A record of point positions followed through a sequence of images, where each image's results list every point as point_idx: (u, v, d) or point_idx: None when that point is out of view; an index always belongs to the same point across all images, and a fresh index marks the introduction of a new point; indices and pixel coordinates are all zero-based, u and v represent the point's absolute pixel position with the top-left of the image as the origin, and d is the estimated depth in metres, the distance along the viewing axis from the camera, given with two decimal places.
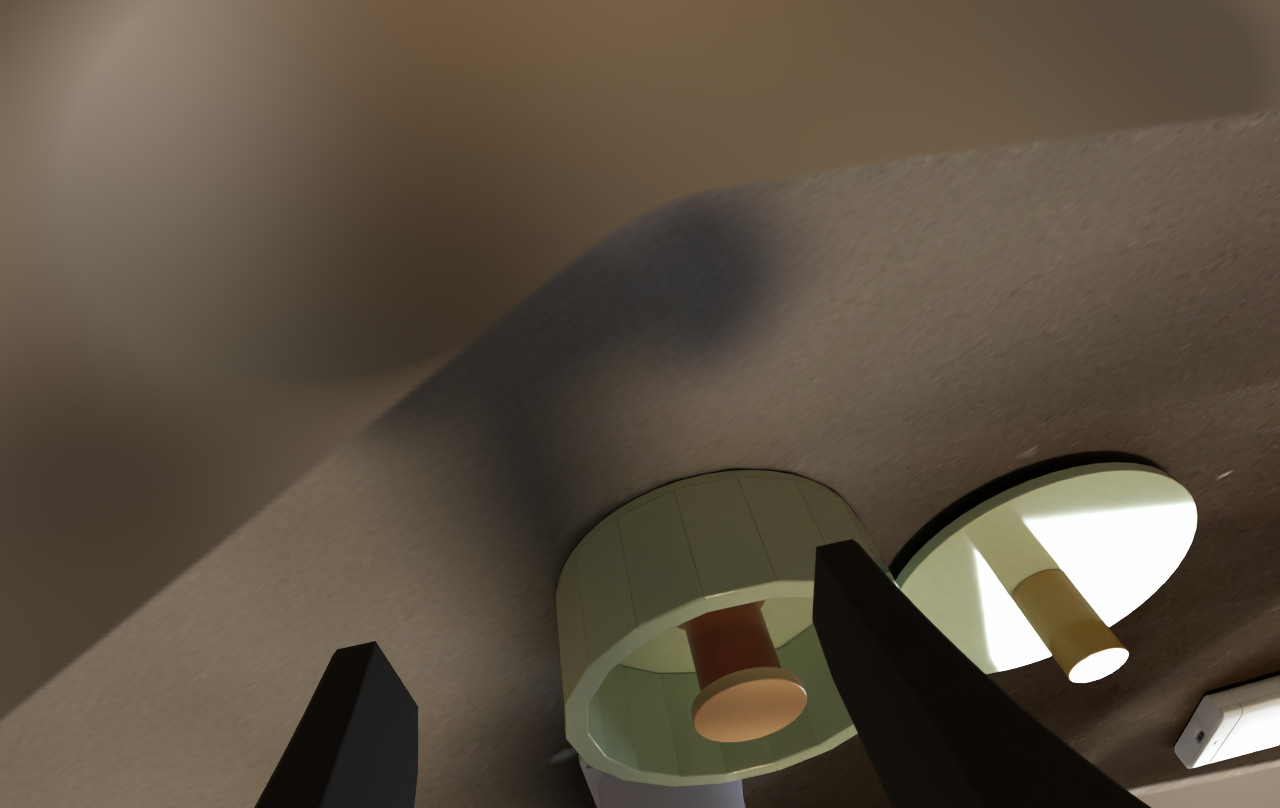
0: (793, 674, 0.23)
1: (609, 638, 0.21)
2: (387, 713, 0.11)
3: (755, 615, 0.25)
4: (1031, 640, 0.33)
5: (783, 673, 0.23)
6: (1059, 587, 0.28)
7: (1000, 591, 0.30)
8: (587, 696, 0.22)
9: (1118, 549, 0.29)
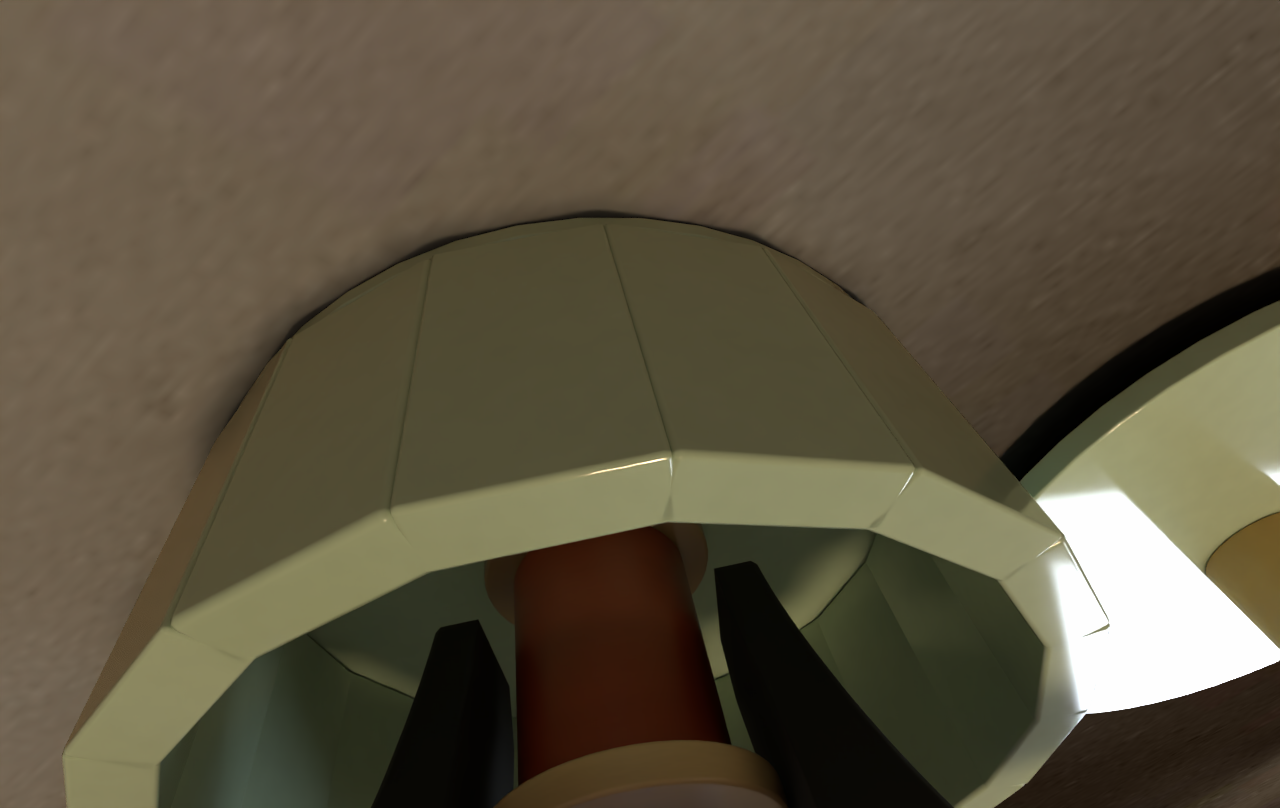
0: (752, 758, 0.08)
1: (121, 664, 0.06)
2: (491, 690, 0.11)
3: (670, 599, 0.11)
4: (1211, 651, 0.18)
5: (722, 759, 0.08)
6: None
7: (1187, 556, 0.15)
8: None
9: None
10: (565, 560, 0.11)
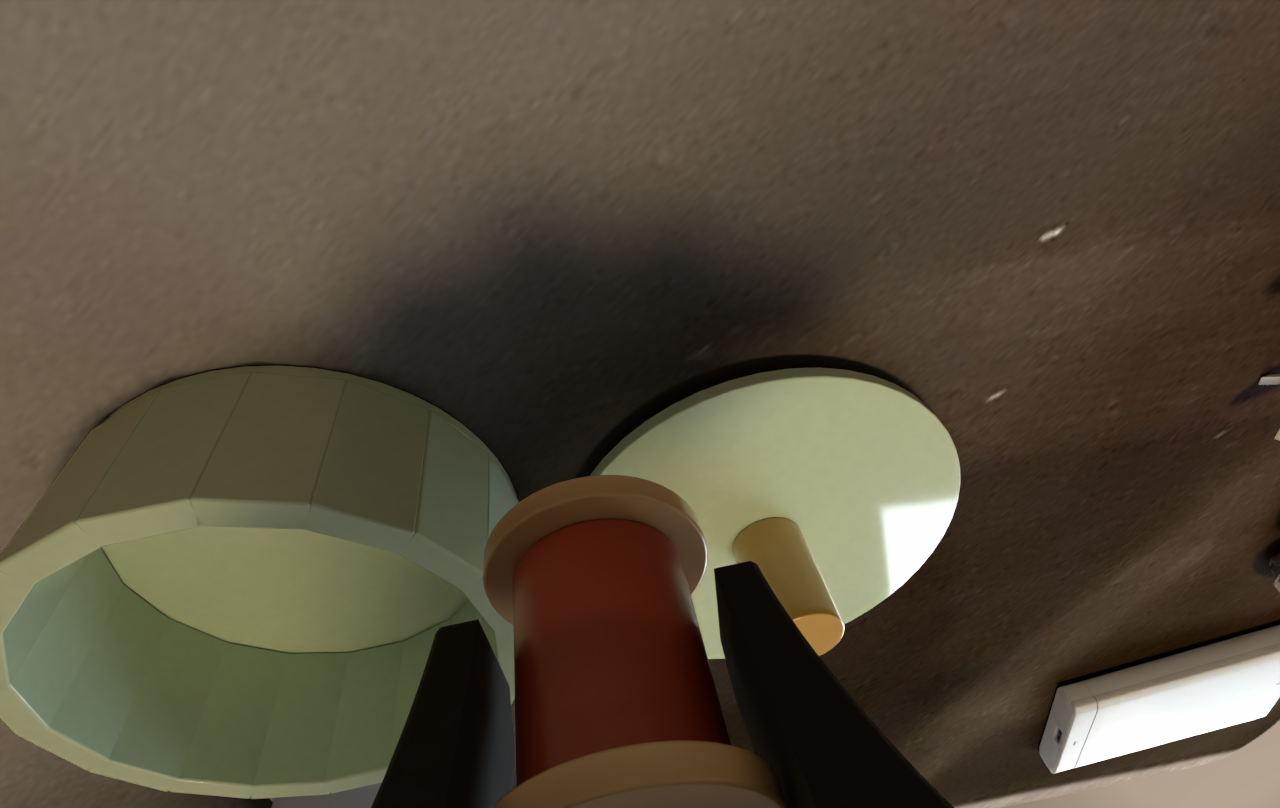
0: (751, 758, 0.08)
1: None
2: (491, 690, 0.11)
3: (669, 599, 0.10)
4: None
5: (721, 759, 0.08)
6: (775, 539, 0.22)
7: (714, 547, 0.23)
8: None
9: (859, 491, 0.23)
10: (564, 560, 0.11)
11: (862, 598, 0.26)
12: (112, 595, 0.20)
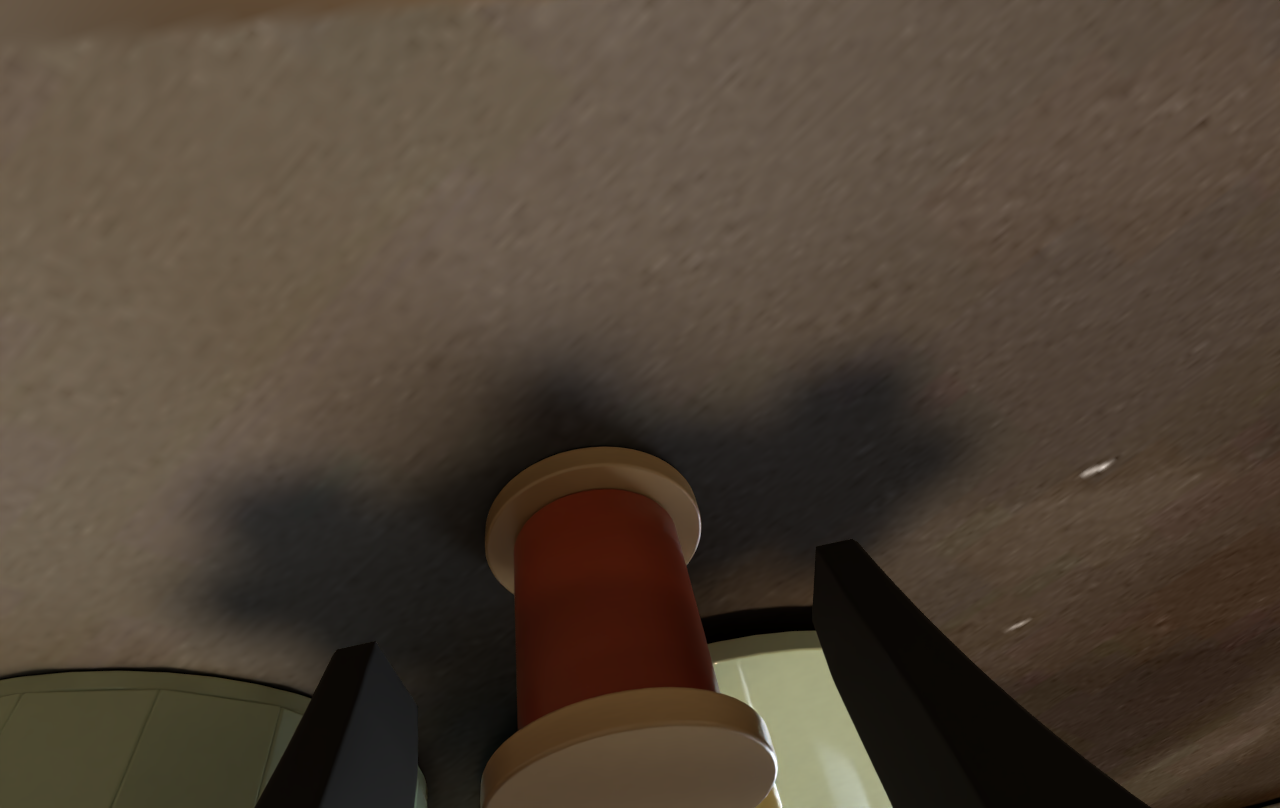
0: (741, 706, 0.09)
1: None
2: (387, 713, 0.11)
3: (664, 563, 0.11)
4: None
5: (712, 705, 0.09)
6: None
7: None
8: None
9: (847, 743, 0.18)
10: (563, 526, 0.11)
11: None
12: None
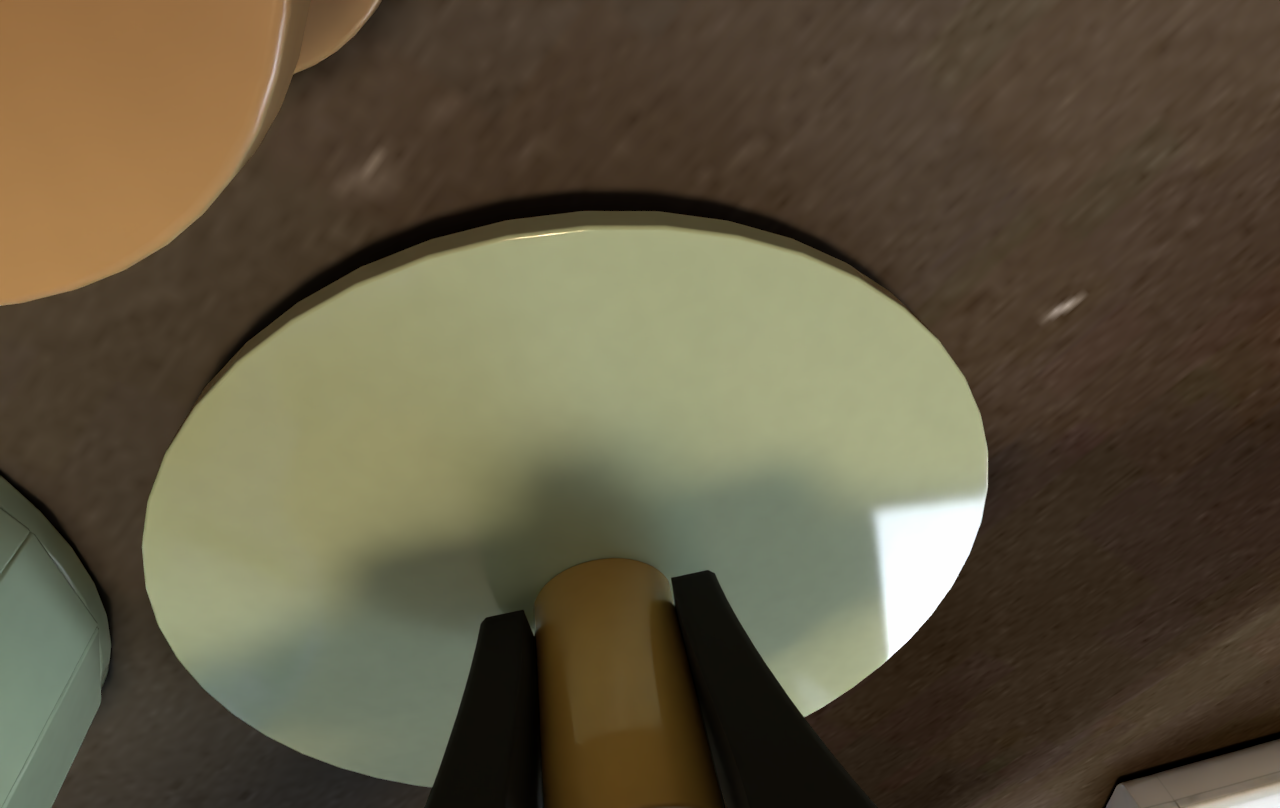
0: None
1: None
2: None
3: None
4: None
5: None
6: (598, 607, 0.10)
7: None
8: None
9: (782, 504, 0.11)
10: None
11: (807, 690, 0.15)
12: None
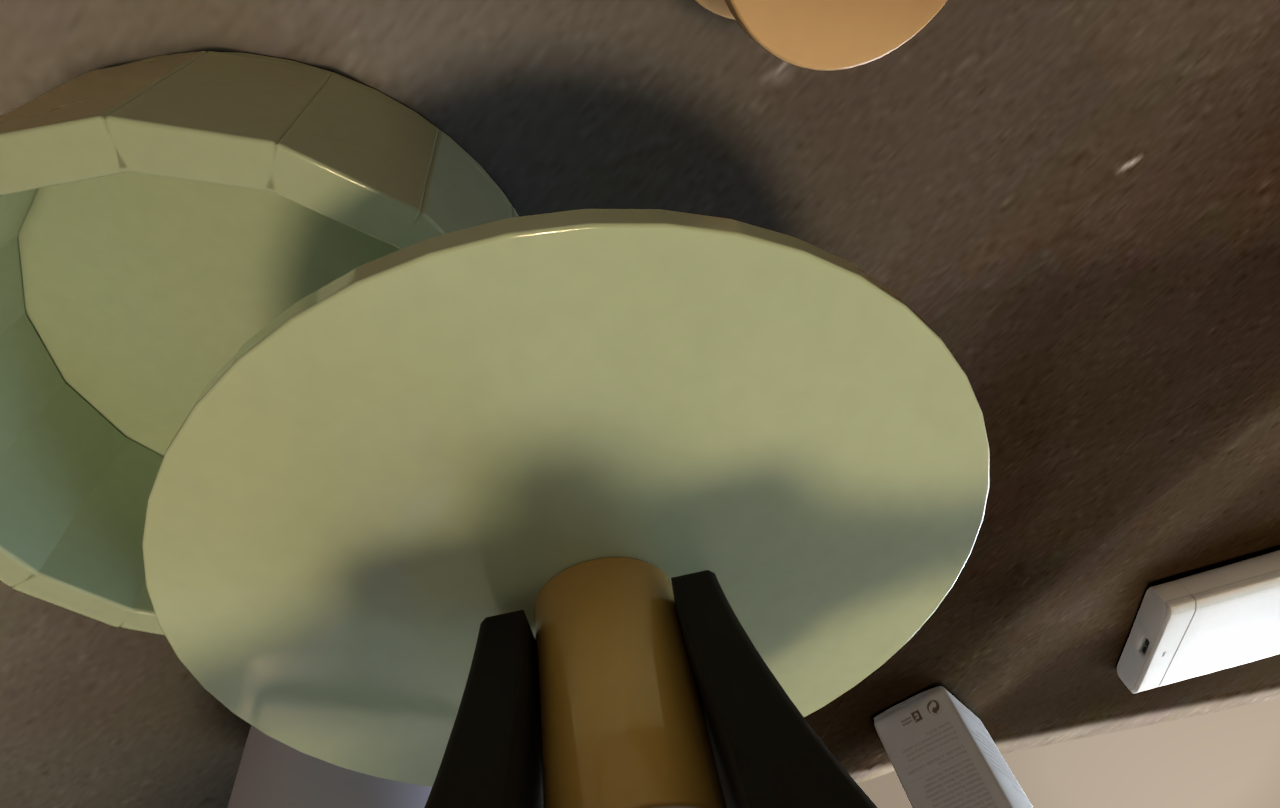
0: None
1: None
2: (536, 680, 0.11)
3: None
4: None
5: None
6: (600, 606, 0.10)
7: None
8: None
9: (783, 503, 0.11)
10: None
11: (808, 690, 0.15)
12: (49, 389, 0.16)
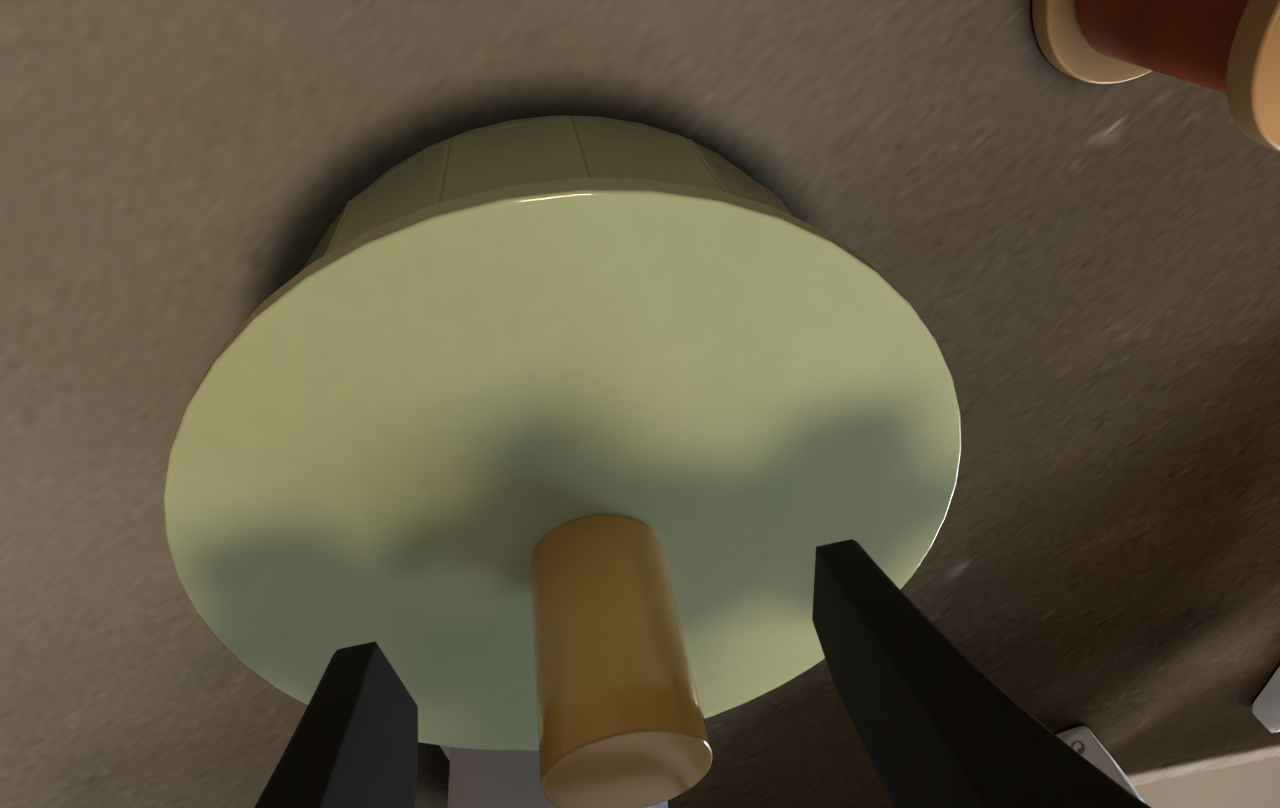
0: None
1: None
2: (387, 713, 0.11)
3: None
4: None
5: None
6: (592, 558, 0.11)
7: (495, 571, 0.12)
8: None
9: (766, 463, 0.12)
10: None
11: (794, 652, 0.15)
12: None
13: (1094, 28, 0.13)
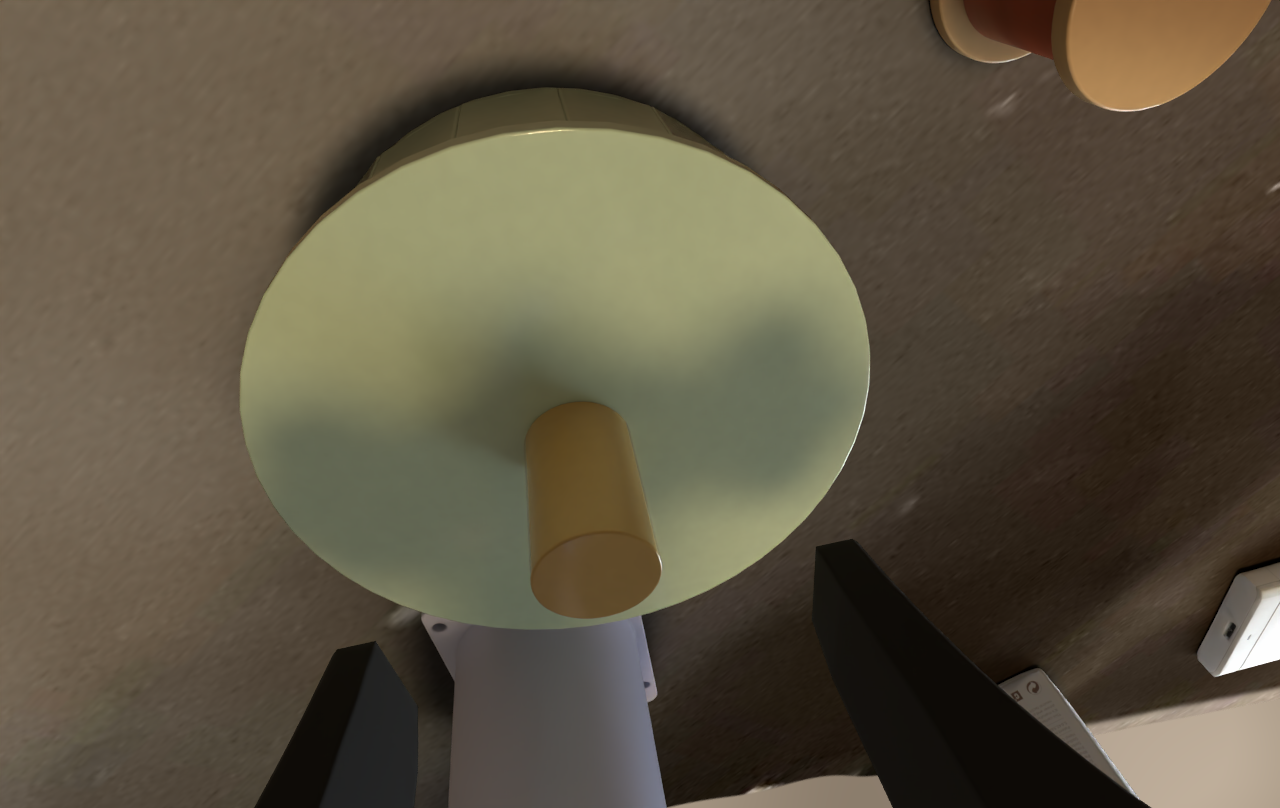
0: None
1: None
2: (387, 713, 0.11)
3: None
4: None
5: None
6: (572, 429, 0.14)
7: (495, 450, 0.15)
8: None
9: (711, 359, 0.15)
10: None
11: (746, 540, 0.18)
12: None
13: (976, 16, 0.16)
